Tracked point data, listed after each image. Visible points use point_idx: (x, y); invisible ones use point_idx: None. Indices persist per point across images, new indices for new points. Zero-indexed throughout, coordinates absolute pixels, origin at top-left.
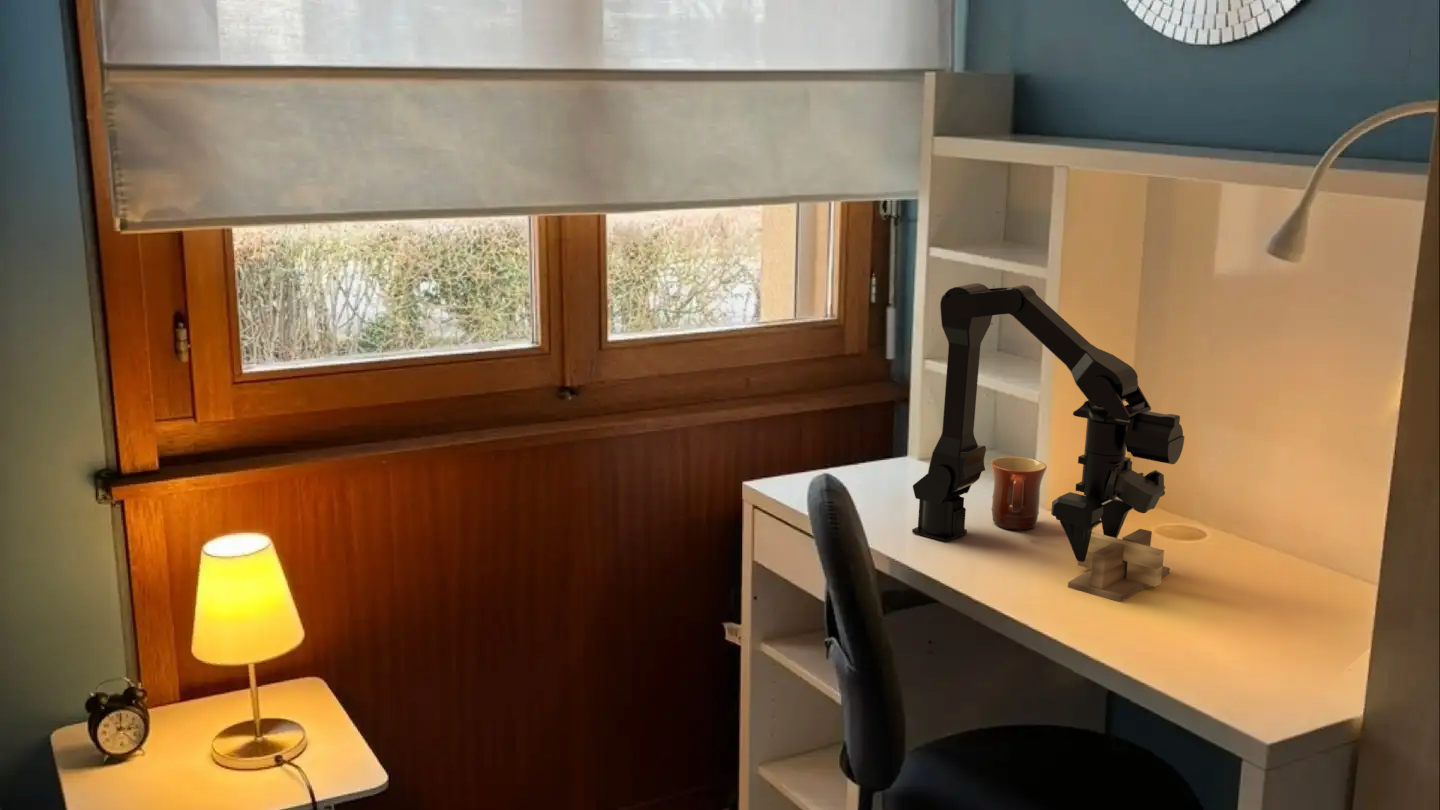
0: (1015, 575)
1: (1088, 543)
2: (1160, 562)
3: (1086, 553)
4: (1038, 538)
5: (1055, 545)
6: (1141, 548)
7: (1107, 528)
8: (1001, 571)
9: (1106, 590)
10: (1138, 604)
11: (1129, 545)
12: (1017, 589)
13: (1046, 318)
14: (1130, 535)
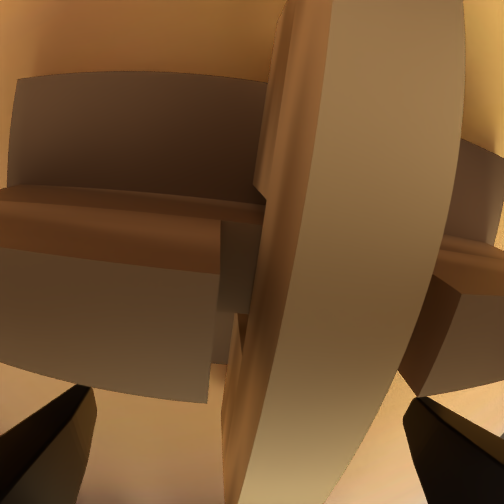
0: (394, 461)
1: (489, 446)
2: None
3: (446, 416)
4: (89, 501)
5: (94, 478)
6: (455, 109)
7: (66, 487)
8: (378, 482)
9: (486, 225)
10: (482, 95)
11: (433, 255)
12: (477, 410)
13: None
14: (65, 361)
